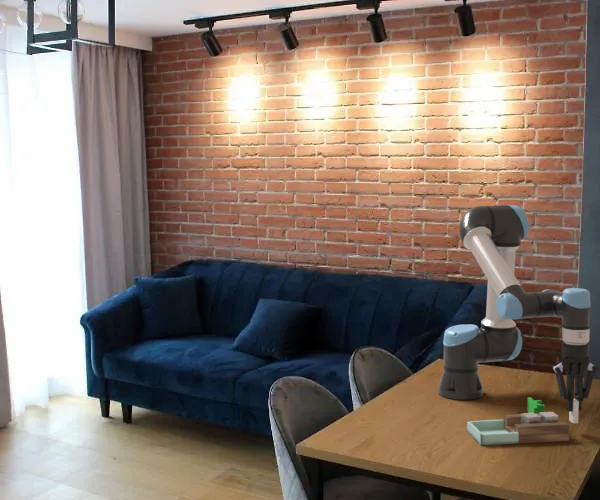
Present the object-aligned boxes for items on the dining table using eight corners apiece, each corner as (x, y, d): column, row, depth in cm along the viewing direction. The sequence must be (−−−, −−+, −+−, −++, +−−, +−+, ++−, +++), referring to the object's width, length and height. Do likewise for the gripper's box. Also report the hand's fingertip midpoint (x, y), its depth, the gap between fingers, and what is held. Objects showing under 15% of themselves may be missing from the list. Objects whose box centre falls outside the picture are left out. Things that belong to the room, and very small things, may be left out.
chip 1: (520, 427, 227) (520, 413, 227) (532, 425, 228) (532, 412, 228) (528, 431, 223) (528, 417, 223) (540, 429, 224) (540, 416, 224)
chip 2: (539, 425, 228) (539, 412, 228) (552, 424, 229) (552, 411, 228) (544, 430, 224) (545, 416, 224) (558, 429, 225) (558, 416, 224)
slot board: (502, 429, 231) (503, 414, 231) (551, 426, 233) (551, 412, 232) (518, 443, 219) (518, 427, 219) (569, 440, 221) (569, 425, 221)
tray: (466, 431, 230) (466, 421, 230) (502, 429, 231) (502, 419, 231) (480, 445, 218) (480, 434, 218) (518, 443, 219) (518, 433, 219)
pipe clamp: (546, 422, 237) (546, 408, 237) (533, 422, 238) (533, 408, 237) (539, 411, 248) (539, 397, 248) (527, 410, 249) (527, 396, 248)
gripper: (559, 346, 220) (557, 427, 223) (603, 344, 222) (601, 424, 224) (548, 340, 228) (546, 418, 230) (590, 338, 229) (588, 416, 231)
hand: (573, 421), depth 227 cm, fingers closed
